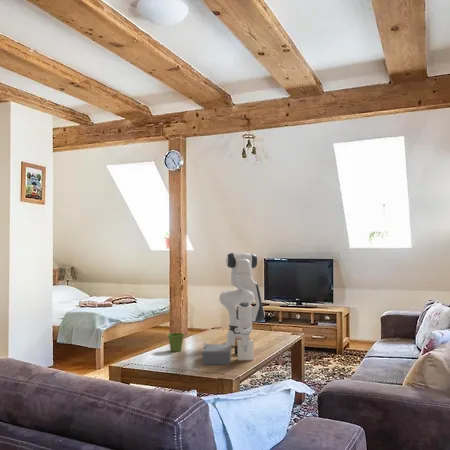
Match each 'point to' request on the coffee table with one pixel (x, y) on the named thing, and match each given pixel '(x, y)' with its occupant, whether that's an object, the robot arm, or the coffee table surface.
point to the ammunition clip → (237, 343)
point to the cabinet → (216, 354)
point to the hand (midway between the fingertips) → (245, 350)
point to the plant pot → (175, 341)
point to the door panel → (245, 355)
